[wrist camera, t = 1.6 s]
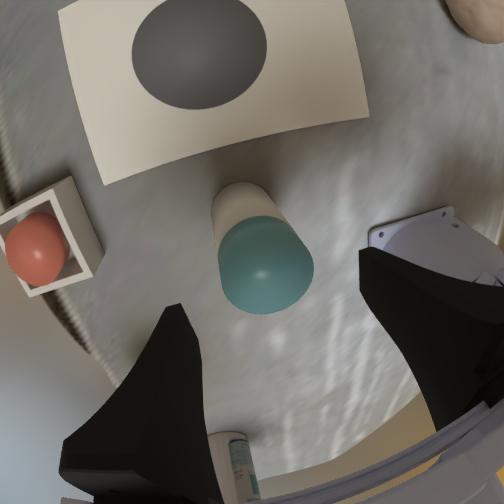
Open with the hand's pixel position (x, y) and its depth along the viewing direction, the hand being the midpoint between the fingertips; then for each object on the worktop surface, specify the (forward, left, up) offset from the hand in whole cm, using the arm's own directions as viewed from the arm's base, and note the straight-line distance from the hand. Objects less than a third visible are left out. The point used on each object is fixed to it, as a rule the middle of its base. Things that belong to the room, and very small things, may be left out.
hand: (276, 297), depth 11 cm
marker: (0, 0, -9) cm, 9 cm away
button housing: (+13, -3, -9) cm, 16 cm away
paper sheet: (-1, -11, -9) cm, 15 cm away
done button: (+13, -3, -7) cm, 15 cm away
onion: (-22, -14, -10) cm, 28 cm away
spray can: (+10, +30, -10) cm, 33 cm away
